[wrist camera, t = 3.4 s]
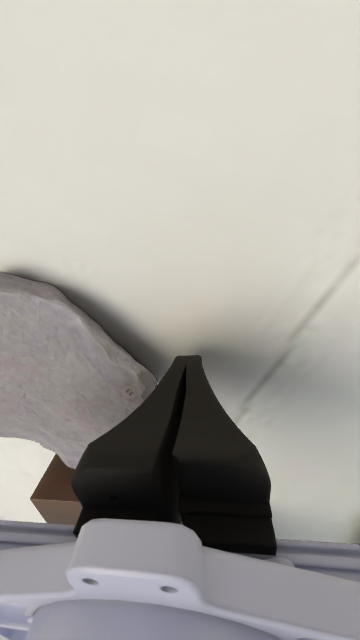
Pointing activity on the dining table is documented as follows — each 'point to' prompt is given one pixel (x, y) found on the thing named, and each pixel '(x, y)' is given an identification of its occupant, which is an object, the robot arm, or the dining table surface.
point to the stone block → (61, 371)
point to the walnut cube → (57, 495)
